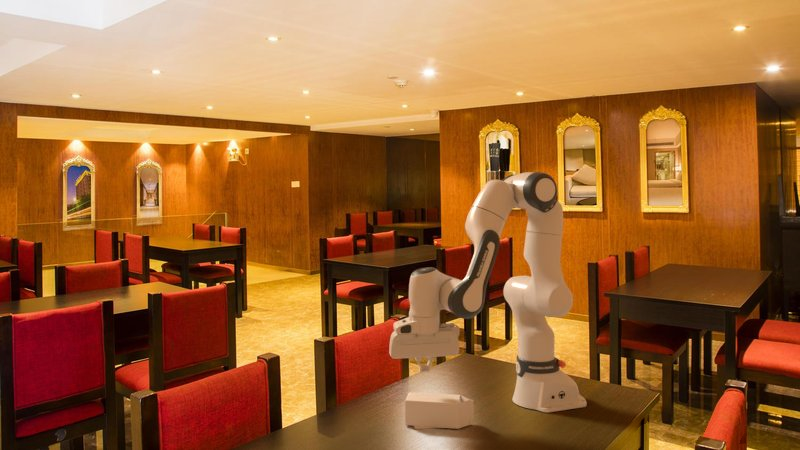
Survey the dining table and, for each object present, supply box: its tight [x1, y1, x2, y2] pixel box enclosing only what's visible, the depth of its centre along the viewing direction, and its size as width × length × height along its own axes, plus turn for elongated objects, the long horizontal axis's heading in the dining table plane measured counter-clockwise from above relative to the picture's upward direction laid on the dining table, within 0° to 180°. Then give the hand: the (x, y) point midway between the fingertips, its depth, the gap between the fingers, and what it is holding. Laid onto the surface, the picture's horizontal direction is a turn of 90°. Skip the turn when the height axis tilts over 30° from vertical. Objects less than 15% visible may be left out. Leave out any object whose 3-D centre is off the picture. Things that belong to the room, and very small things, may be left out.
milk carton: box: [404, 391, 475, 430], centre depth 165 cm, size 7×7×19 cm
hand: (424, 371), depth 168 cm, fingers closed
